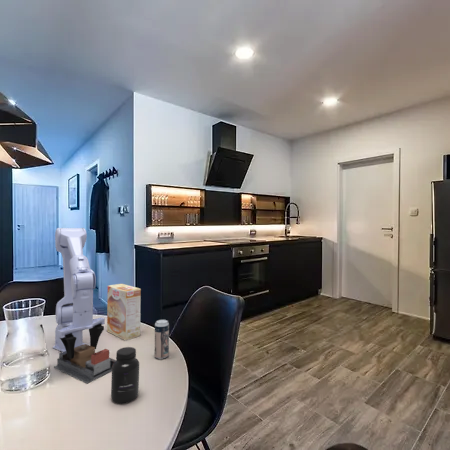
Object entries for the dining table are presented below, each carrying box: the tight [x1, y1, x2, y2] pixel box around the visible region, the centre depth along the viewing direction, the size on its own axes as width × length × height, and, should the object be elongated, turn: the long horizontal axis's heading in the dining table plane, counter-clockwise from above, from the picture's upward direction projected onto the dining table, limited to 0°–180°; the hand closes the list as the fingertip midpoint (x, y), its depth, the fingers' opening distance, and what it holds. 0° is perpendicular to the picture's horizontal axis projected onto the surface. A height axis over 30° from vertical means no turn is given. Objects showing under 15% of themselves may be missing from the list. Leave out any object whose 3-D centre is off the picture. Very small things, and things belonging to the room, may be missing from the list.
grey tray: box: [53, 345, 116, 384], centre depth 88 cm, size 17×11×4 cm, turn 59°
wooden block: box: [71, 343, 96, 368], centre depth 90 cm, size 5×5×6 cm
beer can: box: [153, 319, 170, 360], centre depth 96 cm, size 5×5×12 cm
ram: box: [86, 348, 111, 375], centre depth 86 cm, size 4×6×6 cm
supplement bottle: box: [110, 346, 140, 405], centre depth 73 cm, size 7×7×12 cm
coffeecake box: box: [106, 283, 142, 341], centre depth 117 cm, size 15×7×20 cm, turn 49°
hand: (82, 352), depth 90 cm, fingers open, 7 cm apart
